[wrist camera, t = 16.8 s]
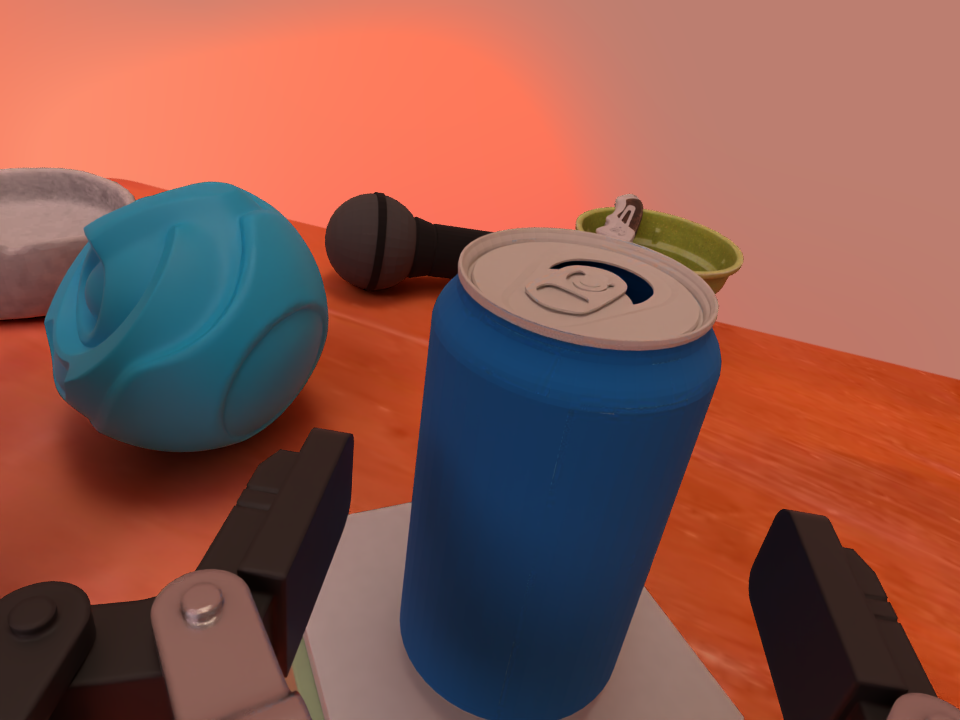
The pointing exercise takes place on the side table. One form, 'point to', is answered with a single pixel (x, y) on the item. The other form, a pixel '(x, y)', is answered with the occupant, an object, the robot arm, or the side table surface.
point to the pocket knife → (623, 218)
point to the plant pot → (679, 243)
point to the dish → (46, 231)
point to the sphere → (187, 319)
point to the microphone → (391, 243)
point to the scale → (400, 689)
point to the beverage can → (548, 463)
